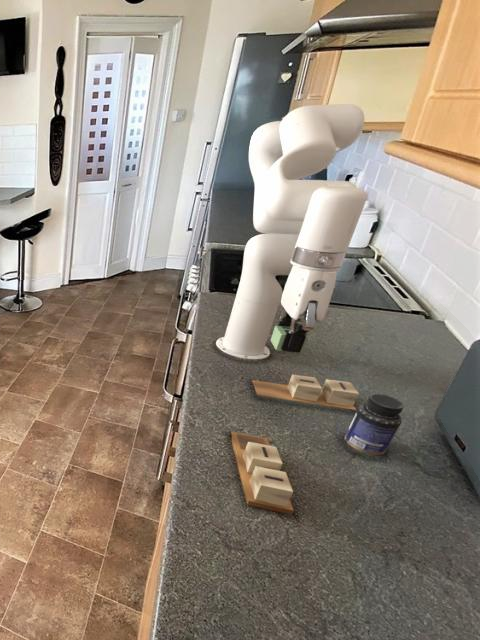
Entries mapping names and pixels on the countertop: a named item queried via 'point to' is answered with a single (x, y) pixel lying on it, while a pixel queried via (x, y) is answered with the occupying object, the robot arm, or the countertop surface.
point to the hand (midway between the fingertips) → (286, 344)
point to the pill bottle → (375, 424)
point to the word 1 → (262, 473)
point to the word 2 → (311, 391)
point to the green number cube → (282, 337)
